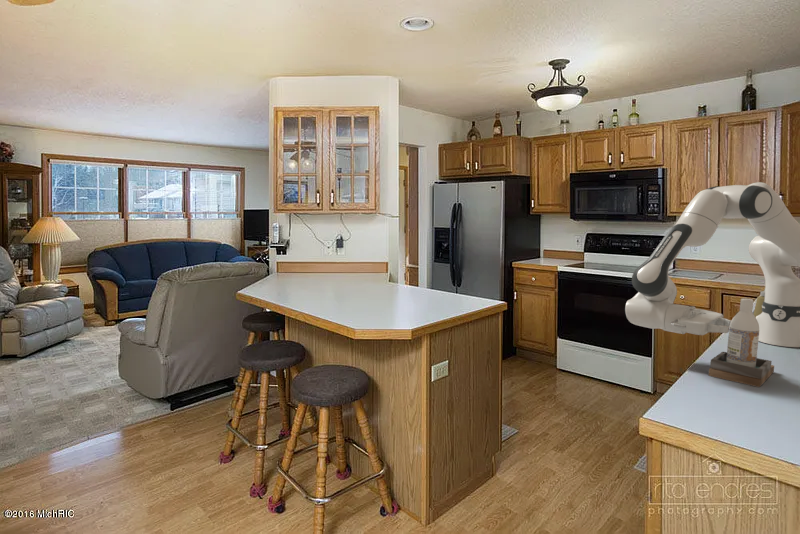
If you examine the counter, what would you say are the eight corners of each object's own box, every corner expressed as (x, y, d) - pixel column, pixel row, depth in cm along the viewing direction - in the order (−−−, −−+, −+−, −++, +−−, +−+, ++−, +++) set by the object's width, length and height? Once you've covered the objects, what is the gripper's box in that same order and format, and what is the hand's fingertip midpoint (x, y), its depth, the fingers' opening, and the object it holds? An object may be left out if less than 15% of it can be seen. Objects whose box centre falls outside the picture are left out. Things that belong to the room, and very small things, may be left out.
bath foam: (749, 372, 133) (756, 302, 131) (721, 366, 139) (727, 298, 137) (759, 368, 137) (766, 299, 135) (732, 361, 143) (738, 296, 141)
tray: (725, 362, 150) (727, 348, 149) (773, 372, 141) (775, 357, 141) (708, 375, 138) (709, 360, 137) (759, 387, 129) (761, 371, 128)
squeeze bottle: (747, 324, 200) (751, 281, 198) (765, 324, 201) (769, 281, 199) (763, 329, 192) (767, 284, 190) (781, 328, 193) (786, 284, 191)
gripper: (668, 313, 141) (723, 322, 131) (691, 305, 155) (742, 312, 145) (667, 334, 142) (721, 344, 132) (689, 324, 156) (740, 332, 146)
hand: (732, 327), depth 138 cm, fingers open, 8 cm apart
